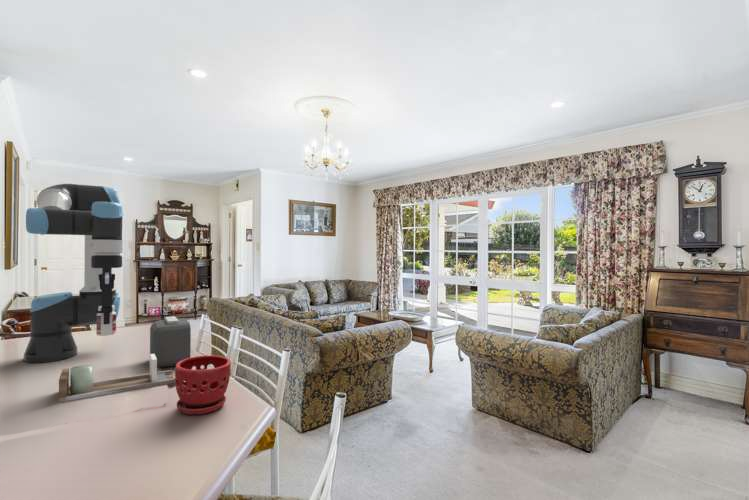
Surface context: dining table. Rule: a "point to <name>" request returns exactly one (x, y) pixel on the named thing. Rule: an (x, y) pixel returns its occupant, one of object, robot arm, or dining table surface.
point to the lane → (111, 385)
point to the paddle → (155, 370)
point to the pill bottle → (100, 321)
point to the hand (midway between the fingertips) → (106, 333)
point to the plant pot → (202, 383)
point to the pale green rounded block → (81, 379)
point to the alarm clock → (170, 341)
